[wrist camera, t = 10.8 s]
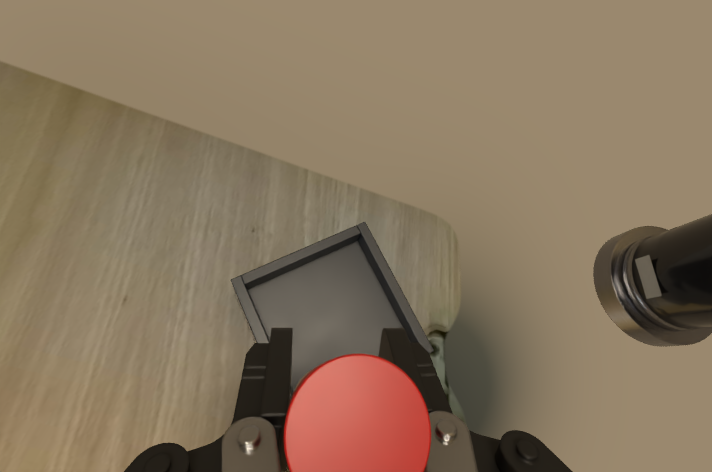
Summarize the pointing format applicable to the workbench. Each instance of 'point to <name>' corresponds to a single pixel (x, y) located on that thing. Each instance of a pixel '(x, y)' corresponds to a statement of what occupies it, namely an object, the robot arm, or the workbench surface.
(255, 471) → the robot arm
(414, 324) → the tray
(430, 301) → the workbench surface
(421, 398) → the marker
